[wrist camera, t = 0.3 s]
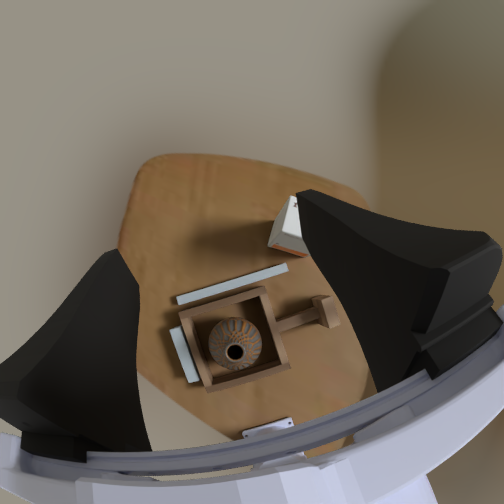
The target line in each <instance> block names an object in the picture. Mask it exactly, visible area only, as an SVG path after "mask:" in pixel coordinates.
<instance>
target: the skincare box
mask: <svg viewBox="0 0 504 504" xmlns="http://www.w3.org/2000/svg"><path fill="white" fill-rule="evenodd" d="M267 246H268V247H272V248H275V249H279V250H282V251H286V252H289V253H292V254H295V255H298V256H301V257H304V258H305V257H308V256H311V255H310V253H309V251H308V249H307V247H306V245H305V243H304V241H303V239H302V236H301V228H300V220H299V213H298V205H297V198H296V197H294V196H290V197H289V198H288V200H287V202H286V203H285V205H284V206H283V208H282V209H281V211H280V212H279V214H278V216H277V217H276V219H275V220H274V224H273V227H272V231H271V234H270V238H269V242H268V245H267Z"/></svg>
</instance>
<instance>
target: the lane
mask: <svg viewBox="0 0 504 504" xmlns="http://www.w3.org/2000/svg"><path fill="white" fill-rule="evenodd" d="M287 271H288V268H287V265H286V263H284V264H281V265H277V266H274V267H271V268H268V269H265V270H262V271H259V272H255V273H252V274H249V275H246V276H243V277H240V278H236V279H233V280H230V281H227V282H224V283H220V284H217V285H214V286H211V287H207V288H204V289H201V290H197V291H194V292H191V293H188V294H184V295H181V296H178V297H176V298H177V301H178V304H179V305H181V304H184V303H188V302H191V301H194V300H198V299H201V298H204V297H208V296H211V295H214V294H218V293H221V292H224V291H227V290H231V289H234V288H237V287H240V286H243V285H247V284H250V283H253V282H256V281H259V280H262V279H265V278H268V277H272V276H275V275H278V274H281V273H284V272H287ZM170 333H171V336H172V339H173V342H174V345H175V347H176V350H177V353H178V356H179V359H180V361H181V364H182V367H183V369H184V372H185V374H186V377H187V380H188V382H189V383H191V382H195V381H199V380H200V378H201V376H200V373H199V371H198V368H197V365H196V363H195V360H194V357H193V355H192V352H191V349H190V346H189V343H188V340H187V338H186V335H185V332H184V329H183V326H182V325H181V326H177V327H174V328H172V329H170Z"/></svg>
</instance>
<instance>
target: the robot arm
mask: <svg viewBox="0 0 504 504" xmlns="http://www.w3.org/2000/svg"><path fill="white" fill-rule="evenodd" d="M296 198H297V205H298V213H299V220H300V228H301V236H302V239H303V241H304V243H305V245H306V247H307V249H308V251H309V253H310V255H311V257H312V259H313V260H314V262H315V263H316V265H317V266H318V268H319V269H320V271H321V272H322V274H323V275H324V277H325V278H326V280H327V281H328V283H329V284H330V286H331V287H332V289H333V291H334V292H335V294H336V295H337V297H338V298H339V300H340V302H341V304H342V305H343V307H344V310H345V312H346V314H347V316H348V318H349V320H350V322H351V324H352V326H353V329H354V331H355V333H356V336H357V338H358V340H359V343H360V345H361V347H362V350H363V353H364V355H365V358H366V360H367V363H368V366H369V368H370V371H371V374H372V377H373V380H374V383H375V386H376V389H377V392H378V394H375V395H373V396H371V397H369V398H367V399H364V400H362V401H360V402H358V403H355V404H353V405H350V406H348V407H346V408H343V409H341V410H338V411H335V412H333V413H330V414H327V415H325V416H322V417H319V418H316V419H313V420H310V421H307V422H304V423H301V424H298V425H295V426H294V424H293V421H292V419H291V418H290V417H288V418H285V419H282V420H278V421H275V422H272V423H269V424H266V425H262V426H259V427H255V428H252V429H248V430H244V431H243V432H242V435H243V437H244V439H241V440H236V441H231V442H226V443H221V444H214V445H208V446H201V447H195V448H186V449H177V450H166V451H152V449H151V445H150V442H149V439H148V435H147V431H146V428H145V423H144V419H143V414H142V409H141V404H140V397H139V390H138V382H137V369H136V349H137V336H138V324H139V312H140V293H139V284H138V283H137V281H136V280H135V278H134V276H133V275H132V273H131V271H130V270H129V268H128V266H127V265H126V263H125V261H124V260H123V258H122V256H121V254H120V253H119V251H118V249H114V250H111V251H108V252H106V253H104V254H103V255H102V256H101V257H100V258H99V259H98V260H97V261H96V262H95V263H94V264H93V265H92V267H91V268H90V269H89V270H88V272H87V273H86V274H85V275H84V277H83V278H82V279H81V281H80V282H79V283H78V284H77V286H76V287H75V288H74V289H73V290H72V292H71V293H70V294H69V295H68V297H67V298H66V299H65V300H64V302H63V303H62V304H61V306H60V307H59V308H58V309H57V310H56V312H55V313H54V314H53V315H52V316H51V317H50V318H49V319H48V320H47V322H46V323H45V324H44V325H43V326H42V327H41V328H40V329H39V330H38V331H37V332H36V333H35V334H34V335H33V336H32V337H31V338H30V339H29V340H28V341H27V342H26V343H25V344H24V345H23V346H21V347H20V348H19V349H18V350H17V351H16V352H15V353H14V354H12V355H11V356H10V357H9V358H8V359H6V360H5V361H4V362H2V363H1V364H0V418H2V419H3V420H5V421H6V422H8V423H9V424H11V425H12V426H14V427H16V428H17V429H19V430H21V431H22V437H19V436H16V435H13V434H8V433H3V432H2V433H1V434H0V487H1V488H3V489H5V490H7V491H8V492H10V493H13V494H14V495H16V496H19V497H20V498H22V499H24V500H26V501H28V502H30V503H32V504H438V503H437V501H436V498H435V495H434V493H433V491H432V488H431V486H430V483H429V481H428V478H427V476H426V474H427V473H428V472H430V471H431V470H433V469H434V468H435V467H437V466H438V465H440V464H441V463H442V462H444V461H445V460H446V459H448V458H449V457H450V456H452V455H453V454H454V453H455V452H457V451H458V450H459V449H460V448H462V447H463V446H464V445H465V444H466V443H468V442H469V441H470V440H471V439H472V438H473V437H475V436H476V435H477V434H478V433H479V432H480V431H481V430H482V429H483V428H484V427H485V426H486V425H487V424H488V423H490V422H491V420H493V419H494V418H495V417H496V416H497V414H499V412H500V411H501V410H502V409H503V408H504V304H503V305H502V306H501V307H500V308H499V309H498V310H497V312H495V311H494V310H493V309H492V307H491V306H492V305H493V302H494V301H493V299H492V298H491V297H490V295H489V294H488V293H489V291H490V288H491V287H492V284H493V282H494V280H495V278H496V276H497V274H498V271H499V268H500V266H501V262H502V248H501V247H500V245H499V244H497V243H496V242H495V241H494V240H493V239H492V238H491V237H490V236H489V235H487V234H486V233H485V232H481V231H464V230H452V229H444V228H436V227H430V226H424V225H419V224H415V223H409V222H405V221H401V220H397V219H394V218H390V217H387V216H383V215H380V214H376V213H374V212H371V211H368V210H365V209H362V208H359V207H357V206H354V205H351V204H349V203H346V202H344V201H341V200H339V199H336V198H334V197H331V196H329V195H326V194H324V193H321V192H318V191H315V190H312V189H310V190H306V191H302V192H298V193H296ZM289 422H291V423H289ZM356 432H357V433H356ZM353 433H355V435H354V436H353V438H354V440H355V441H354V442H353V443H352V444H351V445H350V446H347V447H344V448H341V449H338V450H335V451H332V452H329V453H326V454H322V455H319V456H315V457H312V458H308V459H307V457H306V455H304V453H303V451H307V450H310V449H313V448H316V447H319V446H322V445H325V444H327V443H330V442H333V441H335V440H338V439H341V438H343V437H346V436H348V435H351V434H353ZM245 435H248V436H245ZM248 465H253V468H251V472H245V473H239V474H233V475H226V476H219V477H211V478H202V479H191V480H178V481H159V480H156V479H153V478H151V477H142V476H161V475H162V476H163V475H182V474H194V473H203V472H212V471H219V470H226V469H232V468H238V467H242V466H248Z"/></svg>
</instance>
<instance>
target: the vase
mask: <svg viewBox="0 0 504 504" xmlns="http://www.w3.org/2000/svg"><path fill="white" fill-rule="evenodd" d="M208 346H209V351H210V353H211V356H212V357H213V359H214V360H215V361H216V362H217V363H218V364H219V365H221V366H222V367H224V368H227V369H231V370H240V369H244V368H246V367H248V366H250V365H251V364H253V363H254V362H255V361H256V359H257V358H258V356H259V355H260V352H261V348H262V340H261V336H260V333H259V331H258V329H257V328H256V327H255V326H254V325H253V324H252V323H251V322H250V321H248V320H246V319H243V318H239V317H231V318H226V319H224V320H222V321H220V322H219V323H218V324H216V326H215V327H214V328H213V329H212V331H211V333H210V336H209V341H208Z"/></svg>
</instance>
